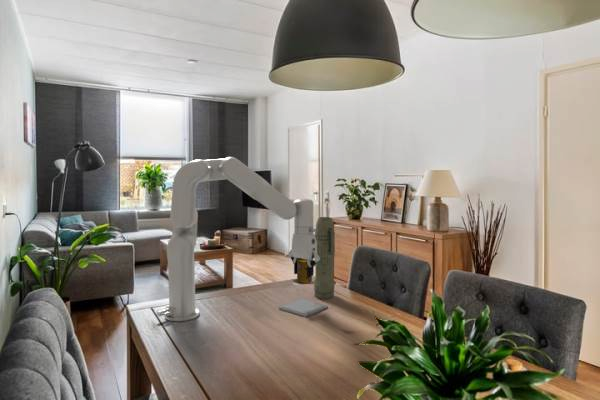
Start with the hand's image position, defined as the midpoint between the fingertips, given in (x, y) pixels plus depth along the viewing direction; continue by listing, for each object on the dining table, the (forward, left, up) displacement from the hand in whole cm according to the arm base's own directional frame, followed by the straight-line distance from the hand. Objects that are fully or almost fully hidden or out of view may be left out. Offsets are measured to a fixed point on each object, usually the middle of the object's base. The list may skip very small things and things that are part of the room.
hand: (303, 274), depth 153 cm
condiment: (0, +1, -3) cm, 4 cm away
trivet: (0, 0, -14) cm, 14 cm away
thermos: (+18, +3, -14) cm, 23 cm away
